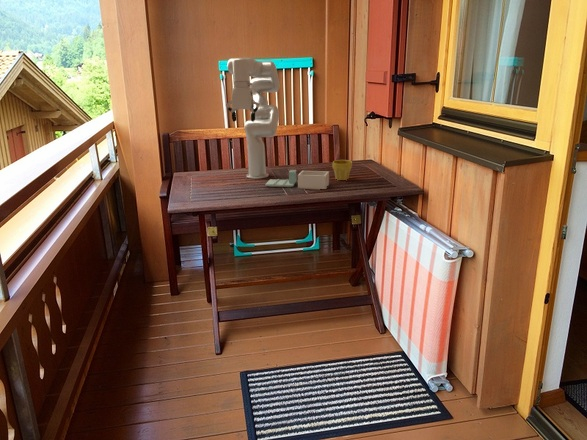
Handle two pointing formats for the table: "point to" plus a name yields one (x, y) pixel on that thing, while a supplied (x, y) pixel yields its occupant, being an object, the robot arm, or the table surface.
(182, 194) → the table surface
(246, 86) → the robot arm
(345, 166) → the plant pot
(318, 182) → the tub
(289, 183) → the lid
